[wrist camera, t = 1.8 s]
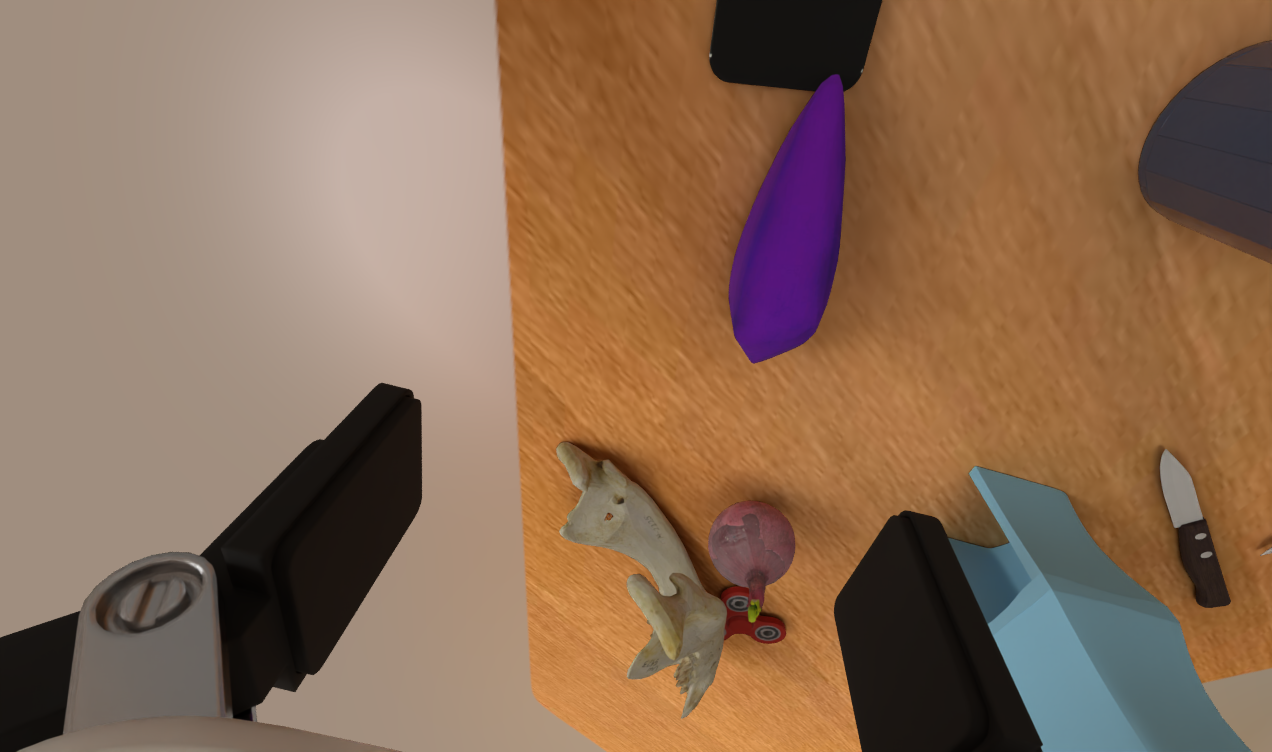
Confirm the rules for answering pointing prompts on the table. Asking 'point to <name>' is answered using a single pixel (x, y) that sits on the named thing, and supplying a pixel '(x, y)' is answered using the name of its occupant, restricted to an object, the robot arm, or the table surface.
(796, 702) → the table surface
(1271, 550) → the knife
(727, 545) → the vegetable
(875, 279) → the table surface
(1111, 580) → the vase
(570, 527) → the jawbone
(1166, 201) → the mug
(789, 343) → the purple eggplant
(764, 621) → the fidget spinner
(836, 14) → the smartphone
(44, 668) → the robot arm
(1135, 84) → the table surface
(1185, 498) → the kitchen knife
